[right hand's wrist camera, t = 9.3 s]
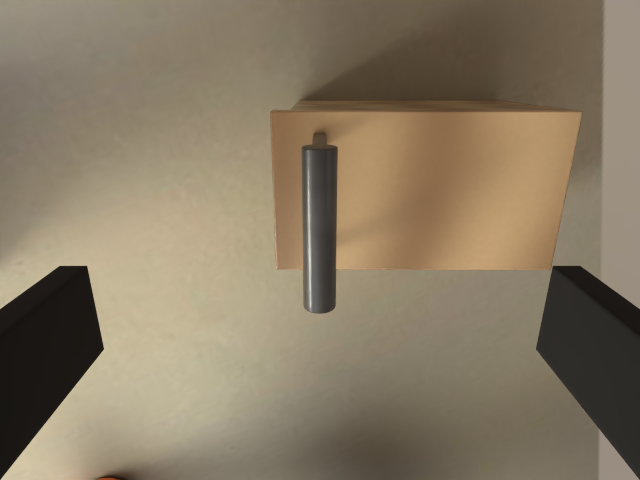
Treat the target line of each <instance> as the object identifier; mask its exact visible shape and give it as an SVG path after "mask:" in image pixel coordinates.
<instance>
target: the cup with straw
mask: <svg viewBox="0 0 640 480" xmlns="http://www.w3.org/2000/svg"><path fill="white" fill-rule="evenodd" d="M97 480H119V479H115V478H101V479H97Z"/></svg>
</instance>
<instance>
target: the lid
mask: <svg viewBox="0 0 640 480" xmlns="http://www.w3.org/2000/svg"><path fill="white" fill-rule="evenodd" d="M581 117H582V111H575V110H272V111H271V112H270V118H271V144H272V171H273V197H274V223H275V249H276V269H303V295H304V308H305V309H306V310H307V311H309V312H312V313H327V312H330V311H332V310H333V309H334V308H335V306H336V269H453V270H550V269H551V266H552V261H553V256H554V251H555V246H556V241H557V236H558V231H559V226H560V221H561V216H562V211H563V206H564V201H565V196H566V191H567V186H568V182H569V177H570V172H571V167H572V162H573V157H574V152H575V147H576V142H577V137H578V132H579V127H580V122H581Z"/></svg>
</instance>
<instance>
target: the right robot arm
mask: <svg viewBox="0 0 640 480" xmlns="http://www.w3.org/2000/svg"><path fill="white" fill-rule="evenodd" d="M103 350H104V347H103V342H102V337H101V332H100V327H99V322H98V317H97V313H96V308H95V303H94V298H93V293H92V288H91V283H90V278H89V273H88V268H87V266H59V267H58V268H56V269H55V270H54V271H52V272H51V273H50V274H48V275H47V276H45V277H44V278H43V279H41V280H40V281H39V282H37V283H36V284H34V285H33V286H32V287H30V288H29V289H28V290H26V291H25V292H23V293H22V294H21V295H19V296H18V297H16V298H15V299H14V300H12V301H11V302H10V303H8V304H7V305H5V306H4V307H3V308H1V309H0V479H1V478H2V477H3V476H4V474H5V473H6V472H7V471H8V469H9V468H10V467H11V466H12V464H13V463H14V462H15V461H16V459H17V458H18V457H19V456H20V454H21V453H22V452H23V450H24V449H25V448H26V447H27V445H28V444H29V443H30V442H31V440H32V439H33V438H34V437H35V435H36V434H37V433H38V432H39V430H40V429H41V428H42V427H43V425H44V424H45V423H46V422H47V420H48V419H49V418H50V416H51V415H52V414H53V413H54V411H55V410H56V409H57V408H58V406H59V405H60V404H61V403H62V401H63V400H64V399H65V398H66V396H67V395H68V394H69V393H70V391H71V390H72V389H73V388H74V386H75V385H76V384H77V382H78V381H79V380H80V379H81V377H82V376H83V375H84V374H85V372H86V371H87V370H88V369H89V367H90V366H91V365H92V364H93V362H94V361H95V360H96V359H97V357H98V356H99V355H100V354H101V352H102V351H103ZM536 350H537V351H538V352H539V354H540V355H541V356H542V357H543V359H544V360H545V361H546V362H547V364H548V365H549V366H550V367H551V369H552V370H553V371H554V372H555V374H556V375H557V376H558V377H559V379H560V380H561V381H562V382H563V384H564V385H565V386H566V388H567V389H568V390H569V391H570V393H571V394H572V395H573V396H574V398H575V399H576V400H577V401H578V403H579V404H580V405H581V406H582V408H583V409H584V410H585V411H586V413H587V414H588V415H589V416H590V418H591V419H592V420H593V422H594V423H595V424H596V425H597V427H598V428H599V429H600V430H601V432H602V433H603V434H604V435H605V437H606V438H607V439H608V440H609V442H610V443H611V444H612V445H613V447H614V448H615V449H616V450H617V452H618V453H619V454H620V455H621V457H622V458H623V459H624V460H625V462H626V463H627V464H628V466H629V467H630V468H631V469H632V471H633V472H634V473H635V474H636V476H637V477H638V478H639V479H640V309H639V308H637V307H636V306H634V305H633V304H632V303H630V302H629V301H628V300H626V299H625V298H624V297H622V296H621V295H619V294H618V293H617V292H615V291H614V290H612V289H611V288H610V287H608V286H607V285H606V284H604V283H603V282H601V281H600V280H599V279H597V278H596V277H595V276H593V275H592V274H590V273H589V272H588V271H586V270H585V269H584V268H582V267H581V266H553V268H552V273H551V278H550V283H549V288H548V293H547V298H546V303H545V308H544V313H543V317H542V322H541V327H540V332H539V337H538V342H537V347H536Z"/></svg>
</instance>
